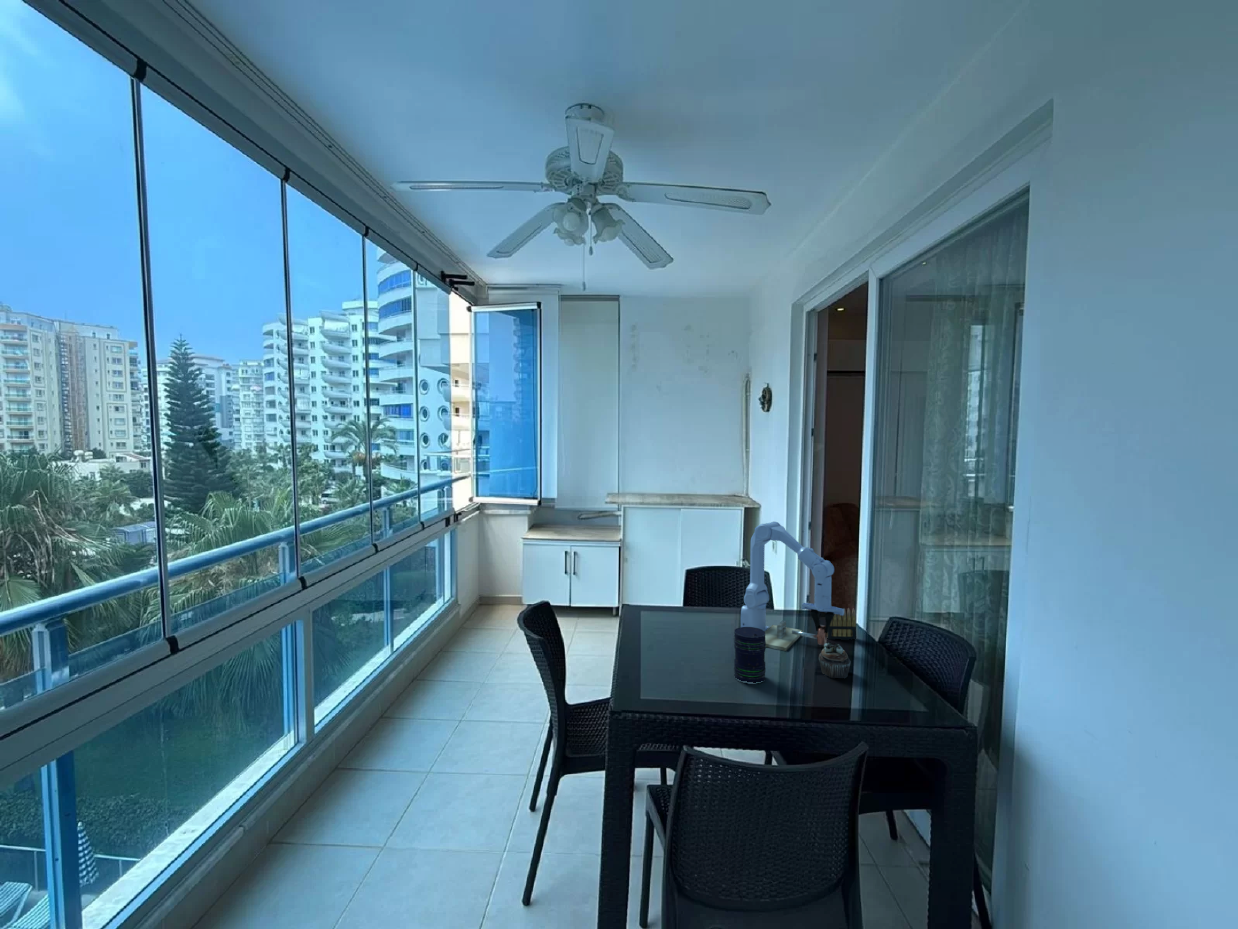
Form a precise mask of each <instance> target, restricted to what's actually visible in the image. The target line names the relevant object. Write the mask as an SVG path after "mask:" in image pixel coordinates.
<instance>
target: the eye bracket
mask: <svg viewBox="0 0 1238 929" xmlns="http://www.w3.org/2000/svg"><path fill="white" fill-rule="evenodd" d="M792 630H794V631H799V632H804V631H803V630H802V629H799V628H798V629H797V628H792V627H787V621H786V620H781V621H779V623H778V624H772V625H771V626H769V628H768V629H767V630H766V631H765V640H766V645H765V647H766V648H769V649H774V650H779V651H784V652H787V651H788V650H789V649H790V648H791V646H792V645H793V644H794V643H796V641H797V640H798V639H799V638H800V637H801V636H800V635H794V634H792Z"/></svg>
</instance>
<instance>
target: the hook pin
mask: <svg viewBox="0 0 1238 929" xmlns="http://www.w3.org/2000/svg"><path fill="white" fill-rule="evenodd" d="M825 627H826V624H825V625H823V624H820V625H819V628H818V631H817V633H816V634H814V633H808V632H804V631H803V632H799V631H794V630H792V634H794V635H800V637H806V638H811V639H816V640H817V645H820V646H824V644H826V642H828V641H827V640H828V639H827V634H828V633H825Z"/></svg>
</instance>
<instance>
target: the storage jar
mask: <svg viewBox="0 0 1238 929" xmlns="http://www.w3.org/2000/svg"><path fill="white" fill-rule="evenodd" d="M733 643H734V644H733V647H734V659H733V661H734V662H733V671H734V675H733V677H734V676H735V678H737V679H739V680H741V681H747V682H753V683H756V682H761V681H764V680H765V681H766V672H767V671H766V660H765V653H766V649H767V647H765V645H766V640H765V631H763V630H762V629H759V628H754V627H741V626H739V627H737V628H735V629H734V637H733ZM735 678H734V679H735ZM765 681H764V682H765Z"/></svg>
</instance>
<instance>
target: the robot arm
mask: <svg viewBox="0 0 1238 929" xmlns="http://www.w3.org/2000/svg"><path fill="white" fill-rule="evenodd" d="M771 541H777V542H781V543H783V544H784V545H785V546H786V547H788V548H789V549H791V550H792V551H793V552H794V553H795V554H797V559H798V560H799V561H800V562H801V563H802V564H804V565H805V566H806V567H807V568H808V569H810V570H811V574H812V575H813V577H814V603H811V602H810V603H808V602H802V603H801V610H810V613H809V614H810V617H811V618H812V620H813V623H814V627H815V632H818V628H819V625H821V624H820V620H821V619H820V617H821V616H820V615H821V612H822V613H825V615H824V617H825V626H826V627H825V633H828V632H829V627H830V624H831V621H832V619H833V617H834V615H835V614H836V615H838V614H840V615H841V617H842V616H843V615H844V608H840V607H837V606H832V575H834V573H835V566H834V565H833V563H831V561H830V560H827V559H826V560H825V559H824V557H821V556H820V555H818V554H817V553H816V552H815V550H814V548H812V547H808V546H806V547H804V546H803V545H802V544H801V543H799V542H798V540H797V539H796V538H795V537H793V536H792V535H791V534H790V533H789V532H788V531H787V529H786V528H785V527H784V526H783V525H781V523H779V522H777V521H771V522H768V523H767V522H766V523H760V524H759V525H757V526H756V527H754V532H753V534H752V536H751V538H750V551H749V552H750V558H749V559H750V560H749V561H750V563H749V565H750V566H749V567H750V569H749V570H750V572H749V584H748V585H747V587H746V588H745V594H744V596H743V601H744V604H745V605H742V606H741V610H740V627H754V628H759V629H762V630H763V631H766V630H767V629H768V628H770V626H768V625H767V624H766V623H767V621H766V620H767V619H766V618H767V616H766V615H767V614H766V613H767V612H766V611H767V610H766V609H767V603H769V601H770V595H769V592H768V586H767V585H766V584H765V547H766V546H765V545H767V543H769V542H771Z"/></svg>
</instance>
